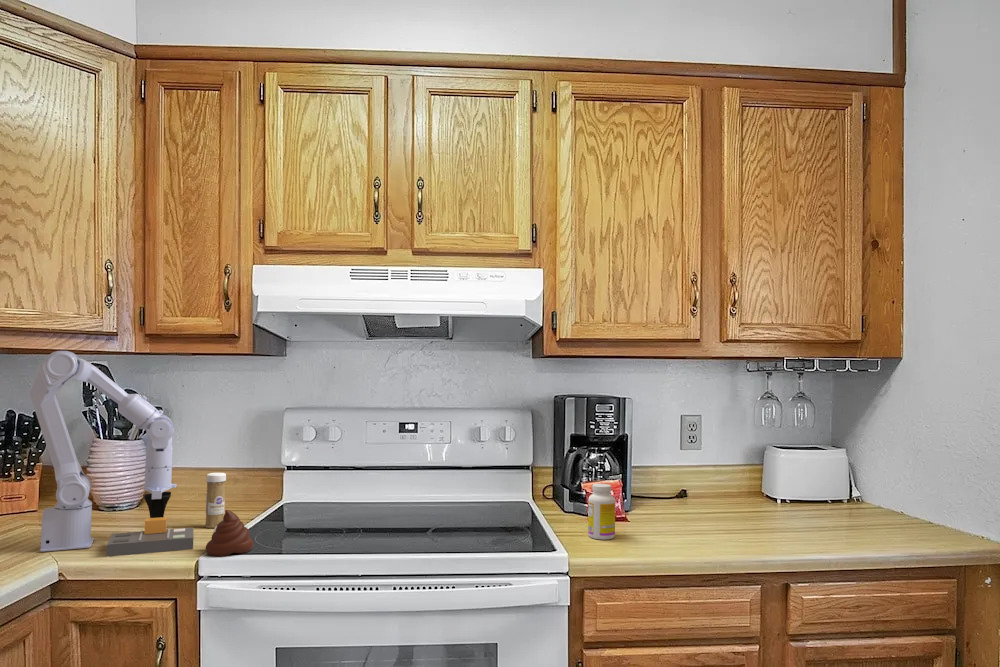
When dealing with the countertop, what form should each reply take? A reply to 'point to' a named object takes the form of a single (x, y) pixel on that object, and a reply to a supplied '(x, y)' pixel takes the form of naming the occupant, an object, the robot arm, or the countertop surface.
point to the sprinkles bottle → (215, 499)
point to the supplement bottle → (601, 513)
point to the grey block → (149, 542)
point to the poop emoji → (229, 537)
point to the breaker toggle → (155, 525)
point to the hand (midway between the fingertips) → (156, 524)
